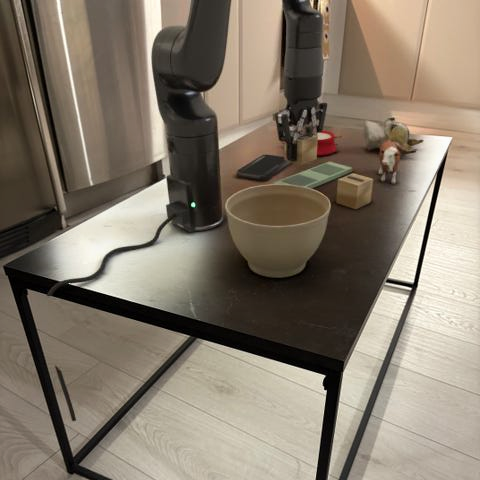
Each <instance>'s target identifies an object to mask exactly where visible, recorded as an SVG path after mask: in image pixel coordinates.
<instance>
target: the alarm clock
mask: <svg viewBox="0 0 480 480" xmlns="http://www.w3.org/2000/svg"><path fill="white" fill-rule="evenodd" d="M301 132H303V133H305V131H302V130H301ZM317 136H318V141H317V156H327V155H331V154H334V153H335V152H338V150H337V147H336V146H338V143H335V140H336V139H337V138H340V139H341V138H342V136H343V135H340V136H335V133H333V132H331V131H328V130H322V132H319V133H317ZM280 143H281V144H283V145H285V142H283V141H280Z"/></svg>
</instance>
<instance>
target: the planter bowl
mask: <svg viewBox="0 0 480 480" xmlns="http://www.w3.org/2000/svg"><path fill="white" fill-rule="evenodd" d="M331 204H332V203H331V201H330V199H329V197H327V196H326V195H325V194H323V193H322V192H320V191H318V190H316V189H314V188H307V187H302V186H297V185H289V184H272V183H270V184H269V183H268V184H261V185H255V186H254V185H253V186H250V187H247V188H243V189H241V190H239V191H237V192H235V193H234V194H232V195H231V196H229V197H228V198H227V200H226V201H225V206H224V207H225V214H226V217H227V225H228V229H229V232H230V233H229V234H230V235H231V239H232V241H233V243H234V245H235V247H236V248H237V251H239V253H240V255H242V257H243V258H244V259H245V260H246V261H247V265H248V267H249V269H250V270H251V271H252V272H254V273H255V274H258V275H259V276H263V277H266V278H275V279H276V278H277V279H278V278H280V279H281V278H289V277H292V276H295V275H297V274H299V273H301V272H302V271H303V270H304V269H305V268H306V265H307V262H308V261H309V260H310V258H312V256H313V255H314V254H315V253H316V251H317V249H318V248H319V246H320V244H321V243H322V241H323V238H324V236H325V233H326V230H327V225H328V219H329V215H330V212H331V207H332V206H331Z"/></svg>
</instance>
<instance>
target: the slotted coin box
mask: <svg viewBox="0 0 480 480" xmlns="http://www.w3.org/2000/svg"><path fill="white" fill-rule="evenodd" d="M373 184H374V178H371V177H367V176H365V175H360V174H357V173H355V172H354V173H353V172H352V173H349V174H347V175H344V177H343V176H342V177H339V178H337V186H336V198H335V204H339V205H342V206H345V207H347V208H350V209H353V210H357V209H360V208H362V207H364V206H366V205H368V204H370V203H371V200H372V193H373Z"/></svg>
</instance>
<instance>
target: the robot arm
mask: <svg viewBox="0 0 480 480" xmlns="http://www.w3.org/2000/svg"><path fill="white" fill-rule="evenodd" d="M281 3H282V8H283V12H284V17H285V21H286V29H285V32H286V33H285V34H286V35H285V52H284V53H285V54H284V64H283V65H284V68H283V69H284V74H283V78H284V79H283V97H284V98H285V99H286V104H285V105H286V106H285V110H284V111H282V112H276V113H275V115H274V118H275V124H276V131H277V138H278V141H279V142H281V141H282V142H283V143H285V142H286V157H287V159H288V160H289V161H296V159H297V144H296V142H297V139H298V135H299V133H300V132H301V131H302V130H303V132H305V133H307V134H311V135H315V136H317V133H319V132H322V131H324V125H325V119H326V116H327V109H328V103H327V102H323V101H319V100H318V99H320V97H321V95H322V88H323V87H322V85H323V68H324V66H323V65H324V54H323V53H324V52H323V50H324V49H323V45H324V44H323V43H324V27H325V26H324V25H325V24H324V15H323V13H322V12H321V11H319V10H317V9H315V7H313V6H312V2H311V0H281ZM231 8H232V0H190V6H189V11H188V16H187V21H186V25H178V24H177V25H167V26H165V27H163V28H162V29H161V30H159V31H158V32H157V34H156V36H155V37H154V39H153V43H152V46H151V52H150V53H151V54H150V55H151V56H150V58H151V62H150V63H151V72H152V78H153V85H154V90H155V97H156V103H157V109H158V112H159V115H160V117H161V119H162V120H163V124H164V129H165V137H166V146H167V154H168V164H169V173H170V174H168V175H166V186H167V196H168V201H169V202H168V204H166V205H165V210H166V217H167V218H166V219H165V220H164V221H163V222H162V223H161V224H160V225H159V226H158V228H157V229H156V232H155V235H154V237H153V238H152V239H151V240H149V241H147V242H145V243H141V244H136V245H127V246H119V247H117V248H113V249H112V250H110V251H108V252H107V253H106V254H105V255H104V257H103V259H102V260H101V264H100V267H99V268H98V270H96V271H95V272H94V273H92V274H91V275H88V276H83V277H75V278H68V279H64V280H61V281H58V282H57V283H55V284H53V286H52V287H51V288H50V289H49V290H48V292H47V293H46V296H47V297H51V296H53V295H54V293H55V292H56V291H57V290H58V289H59V288H61V287H63V286H65V285H66V286H67V285H69V283H70V284H78V283H86V282H90V281H93V280H95V279H97V278H98V277H99V276H100V275H102V273H103V272H104V270H105V268H106V265H107V263H108V261H109V259H110V258H111V257H112V256H114V255H115V254H118V253H120V252H125V251H133V250H134V251H135V250H139V249H145V248H148V247H150V246H152V245H153V244H156V242H157V241H158V240H159V238H160V236H161V233H162V230H163V229H164V228H165V227H166V226H167V225H168V224H170V222H171V225H174V226H176V227H178V228H180V229H182V230H184V231H186V232H188V233H193V232H199V231H207V230H212V229H214V228H217V227H219V226H220V225H221V224H222V223H223V221H224V214H223V199H222V198H223V197H222V182H221V181H222V180H221V179H222V178H221V162H220V160H221V159H220V143H219V142H220V140H219V124H218V123H219V121H218V115H217V113H216V112H215V110H214V109H213V108H212V107H210V106H209V104H208V103H207V102H206V100H205V98H204V96H203V95H202V93H206V92H208V91H211V90H212V89H213V88H214V87H215V86H216V85H217V83H218V82H219V80H220V78H221V75H222V73H223V69H224V65H225V60H226V53H227V45H228V37H229V28H230V17H231V10H232V9H231ZM293 126H295V127H293ZM292 134H293V136H292V137H291V135H292ZM54 368H55V371H56V374H57V375H56V376H57V378H58V381H59V384H60V386H61V390H62V393H63V395H64V398H65V402H66V405H67V408H68V412H69V415H70V419H71V421H72V422H76V421H77V417H76V414H75V410H74V406H73V404H72V400H71V397H70V394H69V390H68V388H67V385H66V382H65V379H64V376H63V375H64V374H63V372H62V370H61V369H60V368H59V367H58V366H57V365H56V364H54Z"/></svg>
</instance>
